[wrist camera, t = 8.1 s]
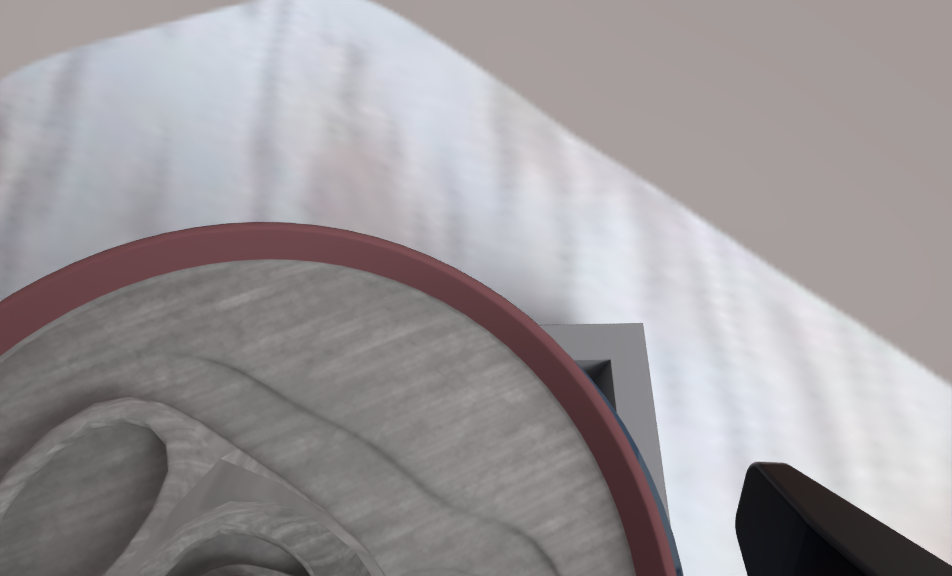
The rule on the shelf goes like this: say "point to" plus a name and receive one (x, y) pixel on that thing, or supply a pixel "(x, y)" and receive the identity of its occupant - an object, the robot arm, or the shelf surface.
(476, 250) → the shelf surface
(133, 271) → the soda can
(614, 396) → the can carrier
